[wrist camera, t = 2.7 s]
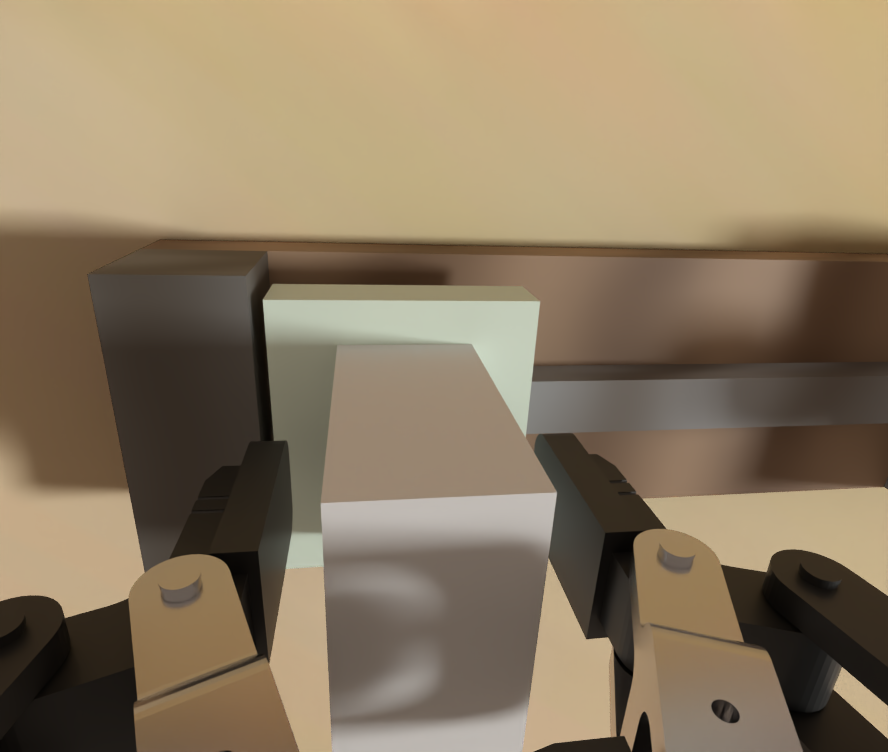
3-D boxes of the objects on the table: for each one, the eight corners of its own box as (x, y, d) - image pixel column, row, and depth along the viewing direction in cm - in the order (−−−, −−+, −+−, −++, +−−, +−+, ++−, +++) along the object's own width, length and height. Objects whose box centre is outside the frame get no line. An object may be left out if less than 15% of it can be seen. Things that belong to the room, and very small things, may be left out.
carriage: (522, 286, 14) (679, 420, 7) (500, 521, 17) (600, 784, 10) (272, 284, 13) (179, 433, 6) (290, 532, 16) (238, 830, 9)
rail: (1007, 247, 19) (1338, 298, 13) (921, 462, 22) (1151, 591, 16) (158, 228, 15) (12, 288, 9) (196, 492, 18) (108, 680, 12)
